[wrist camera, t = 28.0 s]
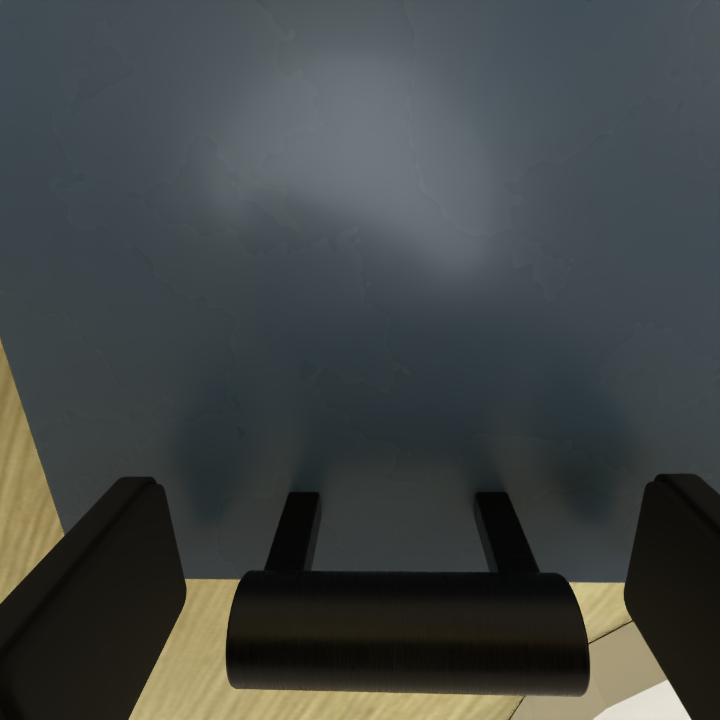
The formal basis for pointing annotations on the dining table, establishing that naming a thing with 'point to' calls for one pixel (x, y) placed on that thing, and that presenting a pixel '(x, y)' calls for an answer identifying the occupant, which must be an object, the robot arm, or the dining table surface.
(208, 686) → the dining table surface
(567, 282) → the lid
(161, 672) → the dining table surface
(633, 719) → the plate
